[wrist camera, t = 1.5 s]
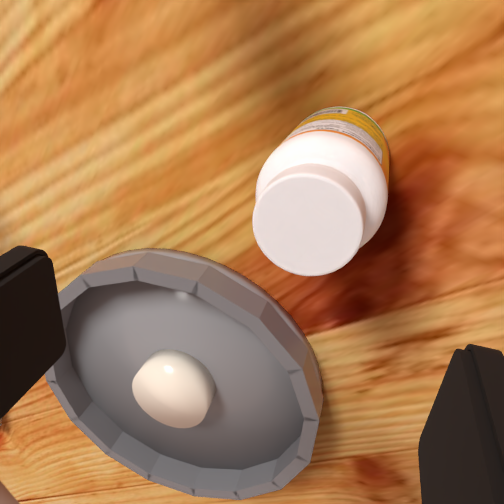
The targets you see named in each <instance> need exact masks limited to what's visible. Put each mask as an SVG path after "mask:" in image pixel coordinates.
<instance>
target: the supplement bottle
mask: <svg viewBox="0 0 504 504" xmlns="http://www.w3.org/2000/svg"><path fill="white" fill-rule="evenodd" d="M389 160H390V158H389V147H388V143H387V140H386V137H385V135H384V133H383V131H382V129H381V128H380V127H379V125H378V124H377V123H376V122H375V121H374V120H373V119H372V118H371V117H370V116H368V115H367V114H365V113H363V112H361V111H359V110H357V109H353V108H349V107H329V108H325V109H322V110H319V111H317V112H315V113H313V114H311V115H310V116H308V117H307V118H305V119H304V120H303V121H302V122H301V123H300V124H299V125H298V126H297V127H296V128H295V129H294V130H293V131H292V132H291V133H290V134H289V135H288V136H287V138H286V139H285V140H284V141H283V142H282V143H281V144H280V145H279V146H278V147H277V148H276V149H275V150H274V151H273V153H272V154H271V155H270V156H269V158H268V159H267V161H266V162H265V164H264V166H263V167H262V169H261V172H260V174H259V177H258V180H257V185H256V204H255V207H254V211H253V232H254V236H255V238H256V241H257V243H258V245H259V247H260V248H261V250H262V252H263V253H264V254H265V255H266V256H267V257H268V258H269V259H270V260H271V261H272V262H273V263H274V264H275V265H277V266H278V267H280V268H282V269H284V270H286V271H288V272H290V273H294V274H297V275H303V276H320V275H325V274H329V273H332V272H334V271H336V270H338V269H340V268H342V267H343V266H344V265H346V264H347V263H348V262H349V261H350V260H351V259H352V258H353V257H354V255H355V254H356V253H357V251H358V249H359V248H360V247H362V246H363V245H364V244H366V243H367V242H368V241H369V240H370V239H371V238H372V237H373V235H374V234H375V233H376V231H377V230H378V228H379V227H380V225H381V223H382V220H383V218H384V215H385V211H386V206H387V200H388V181H389Z"/></svg>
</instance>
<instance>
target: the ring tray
mask: <svg viewBox="0 0 504 504" xmlns="http://www.w3.org/2000/svg"><path fill="white" fill-rule="evenodd" d="M58 297H59V303H60V309H61V314H62V320H63V326H64V332H65V337H66V348H65V351H64V353H63V355H62V356H61V357H60V358H59V359H58V360H57V362H56V363H55V364H54V365H53V366H52V367H51V368H50V369H49V370H48V371H47V372H46V373H45V376H46V381H47V383H48V384H49V386H50V387H51V389H52V391H53V392H54V394H55V396H56V397H57V399H58V400H59V402H60V404H61V405H62V407H63V409H64V410H65V412H66V413H67V415H68V417H69V418H70V420H71V421H72V422H73V423H74V424H75V425H76V426H77V427H78V428H79V429H80V430H81V431H82V432H83V433H84V434H85V435H87V436H88V437H89V438H90V439H91V440H92V441H93V442H94V443H95V444H96V445H97V446H98V447H99V448H100V449H101V450H102V451H103V452H104V453H105V454H106V455H108V456H110V457H111V458H113V459H115V460H116V461H118V462H119V463H121V464H123V465H124V466H126V467H128V468H129V469H131V470H132V471H134V472H136V473H137V474H139V475H141V476H142V477H144V478H145V479H147V480H149V481H152V482H155V483H158V484H161V485H164V486H166V487H169V488H172V489H175V490H178V491H181V492H184V493H187V494H189V495H192V496H198V497H210V498H222V499H234V500H242V499H246V498H250V497H254V496H258V495H261V494H265V493H269V492H273V491H277V490H281V489H282V488H283V487H284V486H285V485H286V484H288V483H289V482H290V481H291V480H292V479H293V478H294V477H295V476H296V475H297V474H298V473H299V472H301V471H302V470H303V469H304V468H305V467H306V466H307V465H308V464H309V463H310V461H311V456H312V452H313V447H314V443H315V438H316V434H317V429H318V425H319V421H320V415H321V410H322V405H323V400H324V398H323V391H322V379H321V374H320V370H319V365H318V363H317V360H316V357H315V355H314V352H313V350H312V348H311V346H310V344H309V342H308V340H307V339H306V337H305V335H304V333H303V332H302V330H301V329H300V328H299V326H298V325H297V324H296V322H295V321H294V319H293V318H292V317H291V316H290V315H289V313H288V312H287V311H286V310H285V309H284V308H283V307H282V306H281V305H280V304H279V303H278V302H277V301H276V300H275V299H274V298H273V297H271V296H270V295H269V294H268V293H267V292H266V291H264V290H263V289H262V288H261V287H259V286H258V285H257V284H255V283H254V282H252V281H251V280H249V279H248V278H246V277H245V276H243V275H241V274H240V273H238V272H236V271H234V270H232V269H230V268H228V267H227V266H225V265H222V264H220V263H217V262H215V261H213V260H210V259H208V258H205V257H202V256H198V255H195V254H191V253H187V252H183V251H177V250H170V249H157V248H144V249H135V250H128V251H125V252H121V253H117V254H114V255H112V256H109V257H107V258H105V259H103V260H101V261H97V262H96V263H94V264H93V265H92V266H91V267H89V268H88V269H87V270H86V271H84V272H83V273H82V274H81V275H80V276H78V277H77V278H76V279H75V280H74V281H72V282H71V283H70V284H69V285H68V286H67V287H65V288H64V289H63V290H62V291H61V292H59V293H58Z"/></svg>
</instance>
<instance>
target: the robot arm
mask: <svg viewBox="0 0 504 504" xmlns="http://www.w3.org/2000/svg"><path fill="white" fill-rule="evenodd" d="M65 348H66V337H65V332H64V326H63V320H62V314H61V309H60V303H59V297H58V291H57V286H56V280H55V274H54V268H53V263H52V260H51V259H50V258H48V255H47V253H46V252H45V251H43V250H40V249H36V248H31V247H27V246H17V247H15V248H13V249H11V250H10V251H8V252H6V253H5V254H3V255H1V256H0V419H1V418H2V417H3V416H4V415H5V414H6V413H7V412H8V411H9V410H10V409H11V408H12V407H13V406H14V405H15V404H16V403H17V402H18V401H19V400H20V399H21V397H22V396H23V395H24V394H25V393H26V392H27V391H28V390H29V389H30V388H31V387H32V386H33V385H34V384H35V383H36V382H37V381H38V380H39V379H40V378H41V377H42V376H43V375H44V374H45V373H46V372H47V371H48V370H49V369H50V368H51V367H52V366H53V365H54V364H55V363H56V362H57V360H58V359H59V358H60V357H61V356H62V355H63V353H64V351H65ZM418 456H419V469H420V483H421V496H422V504H504V356H503V354H502V352H501V351H499V350H495V349H491V348H486V347H482V346H477V345H473V344H469V345H467V346H466V348H465V350H462V349H456V350H455V352H454V354H453V356H452V359H451V361H450V364H449V366H448V369H447V371H446V374H445V376H444V379H443V381H442V384H441V386H440V389H439V391H438V394H437V396H436V399H435V401H434V404H433V406H432V409H431V411H430V414H429V416H428V419H427V422H426V424H425V427H424V429H423V432H422V434H421V437H420V441H419V449H418Z"/></svg>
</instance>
